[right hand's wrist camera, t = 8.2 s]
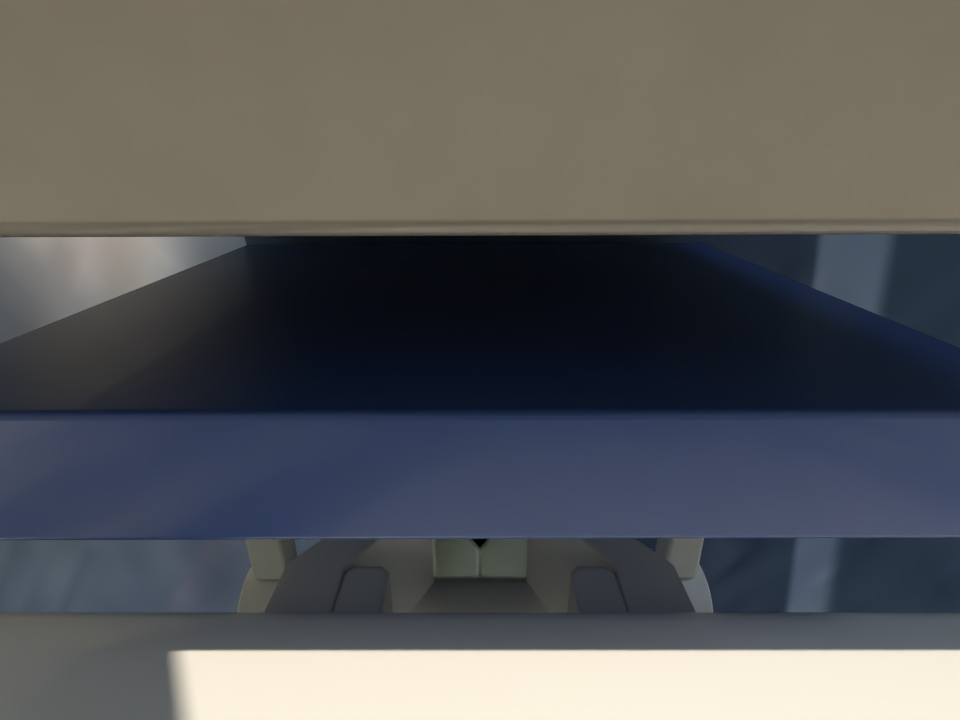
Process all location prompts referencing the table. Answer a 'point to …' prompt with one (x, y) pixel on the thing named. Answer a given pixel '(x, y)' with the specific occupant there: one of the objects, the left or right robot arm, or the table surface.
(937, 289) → the table surface
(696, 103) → the cabinet
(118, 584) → the table surface
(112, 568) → the table surface
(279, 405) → the drawer
